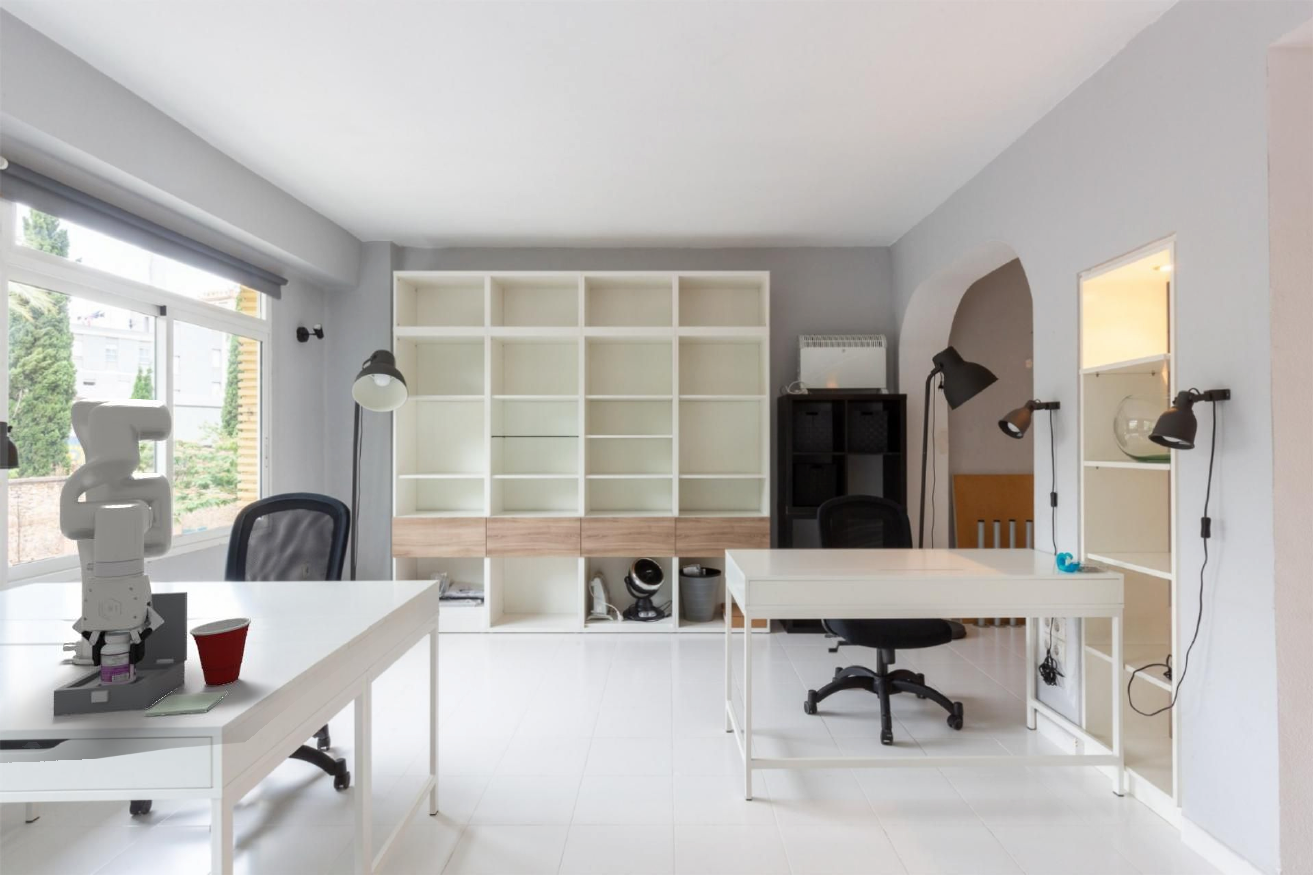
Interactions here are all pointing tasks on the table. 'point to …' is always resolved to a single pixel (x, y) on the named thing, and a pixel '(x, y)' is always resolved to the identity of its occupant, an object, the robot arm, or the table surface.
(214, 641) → the plastic cup
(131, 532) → the robot arm
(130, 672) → the pill bottle
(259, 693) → the table surface
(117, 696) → the equipment case
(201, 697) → the sage mat
